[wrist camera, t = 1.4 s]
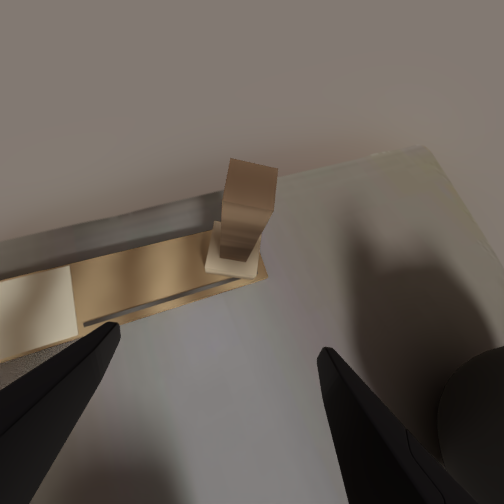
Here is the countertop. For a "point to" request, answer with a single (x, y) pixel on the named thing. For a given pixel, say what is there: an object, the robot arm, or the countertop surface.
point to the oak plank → (106, 292)
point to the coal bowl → (475, 426)
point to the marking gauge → (242, 220)
